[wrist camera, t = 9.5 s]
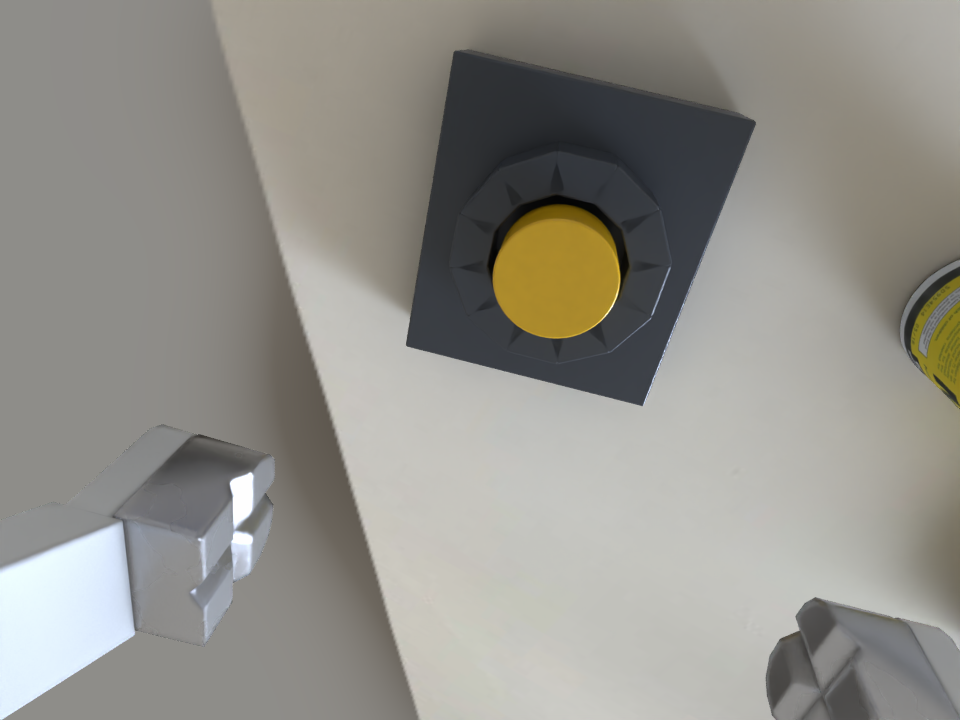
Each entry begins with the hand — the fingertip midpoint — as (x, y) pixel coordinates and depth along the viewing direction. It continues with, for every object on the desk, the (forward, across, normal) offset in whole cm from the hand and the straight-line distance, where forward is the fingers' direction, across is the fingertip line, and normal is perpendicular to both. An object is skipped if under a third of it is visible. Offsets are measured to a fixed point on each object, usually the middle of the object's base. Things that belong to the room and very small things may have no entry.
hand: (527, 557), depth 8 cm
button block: (+16, 0, 0) cm, 16 cm away
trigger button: (+12, 0, 0) cm, 12 cm away
